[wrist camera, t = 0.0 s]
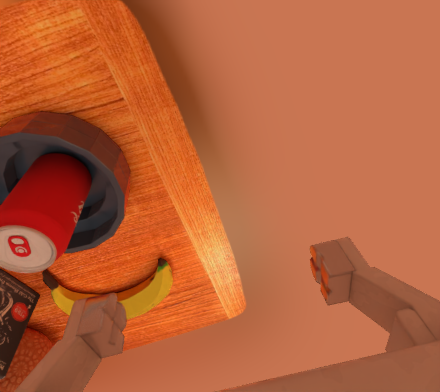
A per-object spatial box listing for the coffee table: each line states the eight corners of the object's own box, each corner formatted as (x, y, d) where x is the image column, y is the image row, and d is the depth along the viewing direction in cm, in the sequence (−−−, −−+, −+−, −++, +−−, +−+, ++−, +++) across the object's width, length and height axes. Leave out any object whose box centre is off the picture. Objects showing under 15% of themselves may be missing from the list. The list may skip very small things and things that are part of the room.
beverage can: (40, 196, 35) (-12, 278, 25) (27, 148, 31) (-39, 222, 22) (96, 197, 36) (68, 276, 26) (90, 151, 32) (54, 222, 23)
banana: (189, 294, 43) (112, 225, 37) (102, 349, 46) (18, 295, 40) (189, 272, 47) (119, 207, 41) (109, 325, 50) (34, 272, 44)
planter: (45, 312, 47) (15, 387, 39) (72, 351, 55) (53, 421, 46) (-37, 324, 47) (-86, 404, 38) (2, 362, 54) (-31, 436, 45)
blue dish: (-41, 130, 30) (-79, 155, 25) (98, 96, 29) (85, 116, 25) (38, 232, 38) (21, 265, 34) (147, 206, 38) (144, 236, 34)
